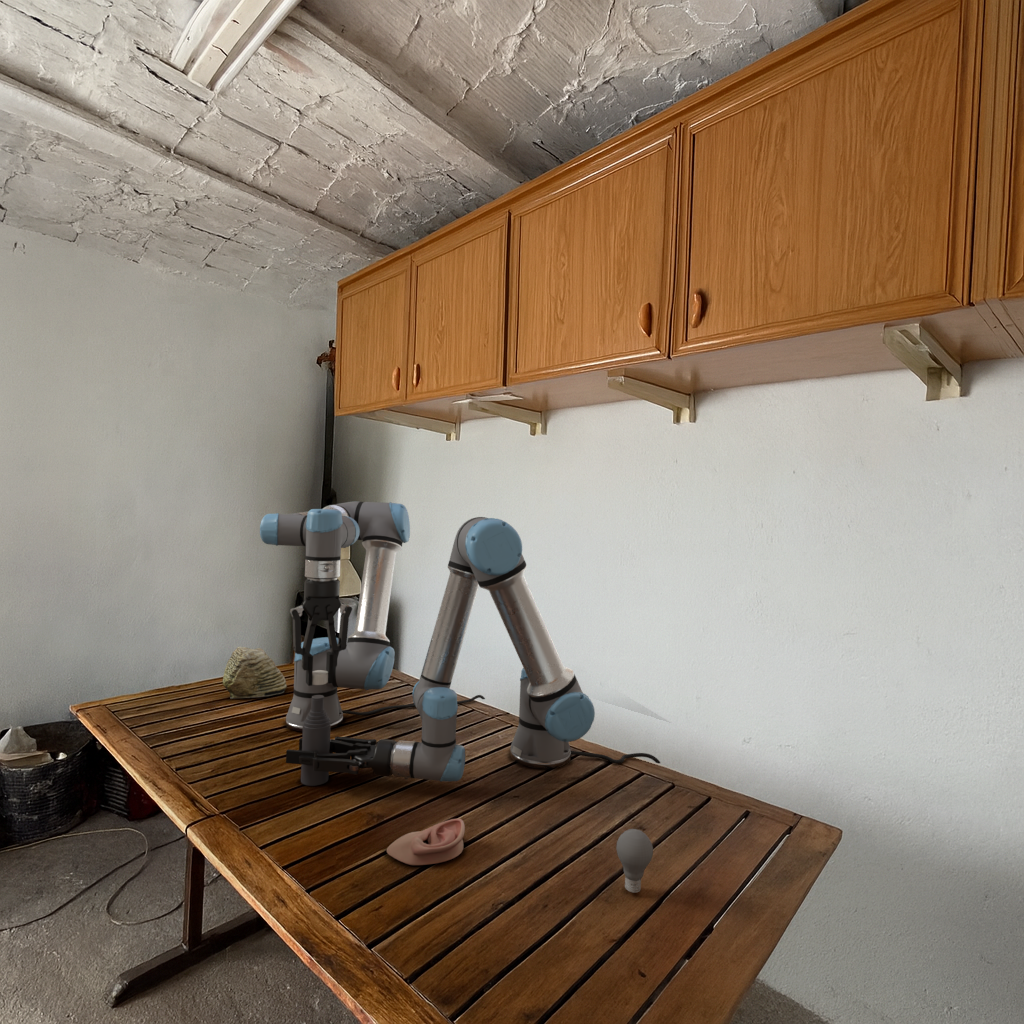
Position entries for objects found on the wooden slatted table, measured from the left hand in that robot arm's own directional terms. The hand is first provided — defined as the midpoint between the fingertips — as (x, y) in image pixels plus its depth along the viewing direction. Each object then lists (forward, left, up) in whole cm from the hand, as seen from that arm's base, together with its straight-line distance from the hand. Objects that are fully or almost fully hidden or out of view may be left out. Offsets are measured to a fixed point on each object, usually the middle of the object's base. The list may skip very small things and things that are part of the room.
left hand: (318, 682), depth 141 cm
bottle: (0, 0, -22) cm, 22 cm away
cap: (0, 0, +2) cm, 2 cm away
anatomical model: (+3, +39, -22) cm, 44 cm away
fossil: (-21, -64, -22) cm, 71 cm away
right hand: (+3, -4, -16) cm, 16 cm away
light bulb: (-12, +73, -22) cm, 77 cm away
